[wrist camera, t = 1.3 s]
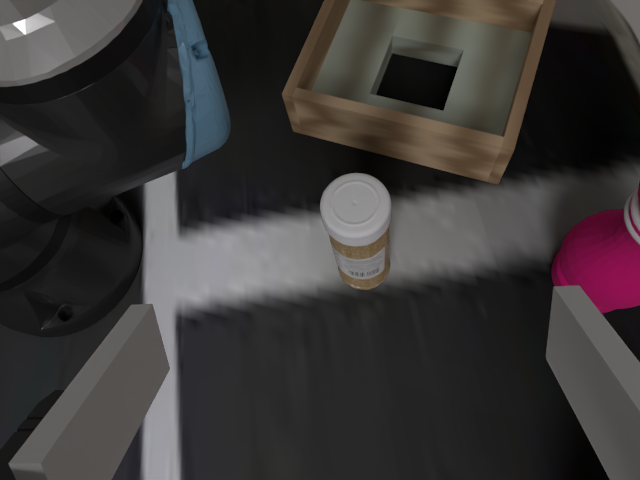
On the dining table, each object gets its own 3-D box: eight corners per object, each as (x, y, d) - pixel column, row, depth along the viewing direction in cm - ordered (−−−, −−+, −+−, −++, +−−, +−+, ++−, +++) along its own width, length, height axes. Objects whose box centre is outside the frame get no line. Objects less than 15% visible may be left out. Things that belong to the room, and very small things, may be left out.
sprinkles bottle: (394, 247, 44) (398, 176, 32) (384, 296, 43) (383, 242, 31) (343, 237, 45) (328, 165, 33) (331, 285, 44) (311, 229, 31)
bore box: (293, 131, 50) (281, 94, 44) (346, 8, 54) (342, -40, 49) (498, 184, 45) (513, 150, 40) (537, 45, 50) (556, -3, 44)
